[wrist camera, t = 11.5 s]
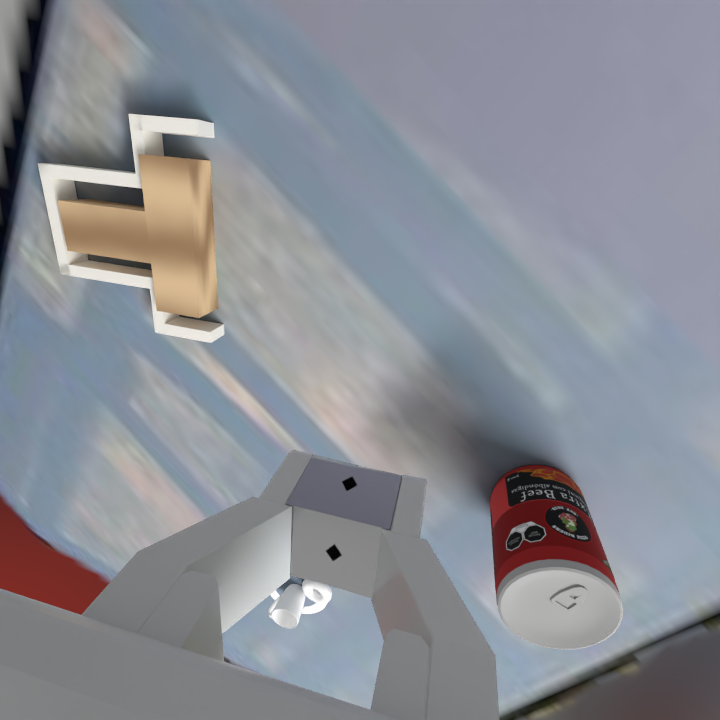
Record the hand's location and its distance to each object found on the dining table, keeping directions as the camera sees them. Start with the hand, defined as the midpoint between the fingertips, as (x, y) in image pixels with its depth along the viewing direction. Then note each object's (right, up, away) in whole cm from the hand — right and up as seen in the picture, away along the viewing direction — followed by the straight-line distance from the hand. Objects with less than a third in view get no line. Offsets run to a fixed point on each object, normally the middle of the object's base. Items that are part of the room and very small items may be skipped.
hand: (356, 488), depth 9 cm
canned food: (+16, -10, +28) cm, 34 cm away
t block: (-18, +14, +27) cm, 35 cm away
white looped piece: (-5, -26, +41) cm, 49 cm away
